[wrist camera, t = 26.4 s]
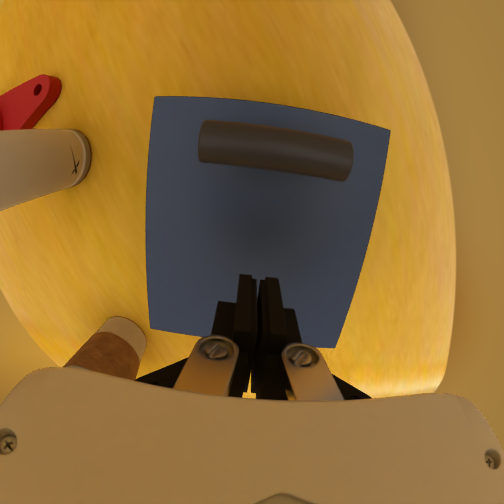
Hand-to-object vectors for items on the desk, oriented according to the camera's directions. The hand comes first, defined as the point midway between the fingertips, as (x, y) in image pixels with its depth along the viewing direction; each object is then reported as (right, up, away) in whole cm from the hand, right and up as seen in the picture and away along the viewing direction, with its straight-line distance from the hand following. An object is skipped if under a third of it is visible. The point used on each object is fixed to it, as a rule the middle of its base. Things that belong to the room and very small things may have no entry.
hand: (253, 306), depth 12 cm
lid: (0, +3, +5) cm, 6 cm away
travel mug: (-19, +12, +12) cm, 25 cm away
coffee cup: (-16, -8, +19) cm, 26 cm away
